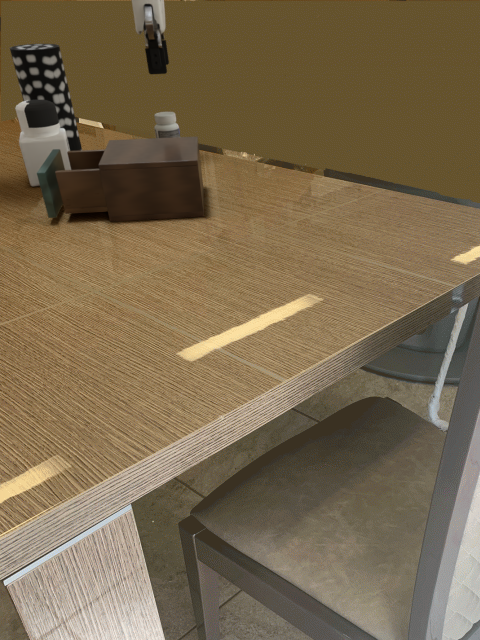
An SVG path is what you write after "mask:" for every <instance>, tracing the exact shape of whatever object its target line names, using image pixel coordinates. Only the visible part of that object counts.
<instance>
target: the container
mask: <svg viewBox="0 0 480 640" xmlns="http://www.w3.org/2000/svg"><path fill="white" fill-rule="evenodd" d="M14 110H15V111H16V112H15V113H16V116H17V120H18V124H19V127H20V133H19V139H18V145H19V148H20V152H21V155H22V159H23V163H24V167H25V170H26V173H27V177H28V180H29V184H30V186H31V187H40V184H39V180H38V176H37V172H38V170H39V169H40V167H41V166H42V165H43V163H44V162H45V160H46V159H47V157H48V156H49V154H50V153H51V151H52V150H53V149H60V151H61V155H62V159H63V164H64V168H65V170H71V167H70V162H69V158H68V154H67V152H68V151H70V148H69V144H68V139H67V135H66V131H65V129H64V128H60V124H59V119H58V115H57V111H56V106H55V104H54V103H53V102H50V101H48V100H28V101H23V100H22V101H21V102H19V103H18V104H16V106H15V108H14Z"/></svg>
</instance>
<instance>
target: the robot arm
mask: <svg viewBox="0 0 480 640" xmlns="http://www.w3.org/2000/svg"><path fill="white" fill-rule="evenodd" d="M131 5H132V6H131V7H132V13H133V21H134V24H135V25H134V28H135V33H136V34H137V35H142V33H143V36H144V45H145V48H144V51H145V58H146V64H147V70H148V74H149V75H166V74H168V67H167V66H168V65H169V64H170V60H169V52H168V46H167V45H168V44H167V39H165V31H166V10H165V7H166V6H165V0H131Z"/></svg>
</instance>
